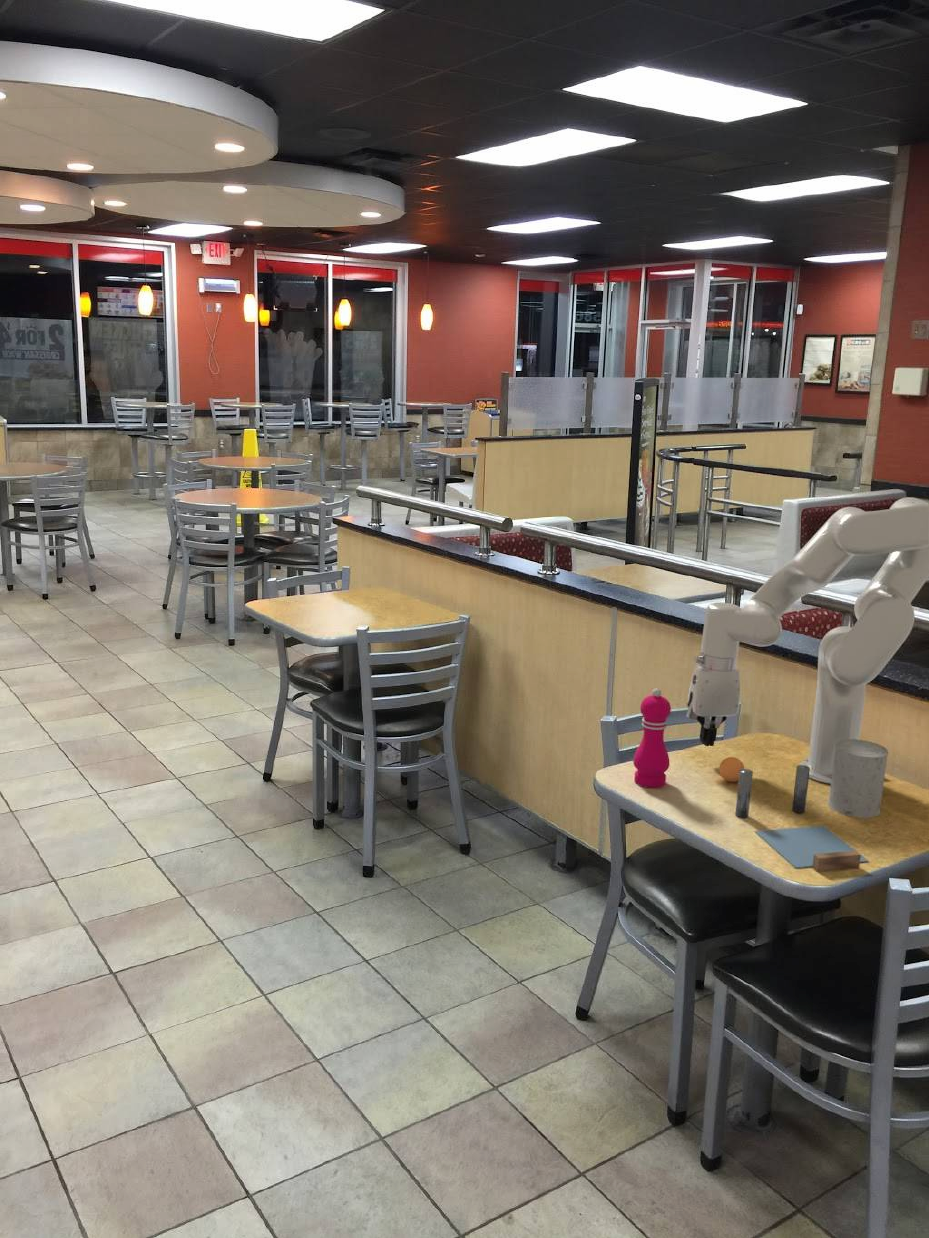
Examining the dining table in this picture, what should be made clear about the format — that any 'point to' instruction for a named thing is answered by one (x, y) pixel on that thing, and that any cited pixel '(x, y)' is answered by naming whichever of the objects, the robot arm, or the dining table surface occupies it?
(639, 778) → the pepper mill
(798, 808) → the post
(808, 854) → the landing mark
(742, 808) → the post
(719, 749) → the dining table surface
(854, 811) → the speckled stone cylinder
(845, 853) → the wall
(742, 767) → the ball
